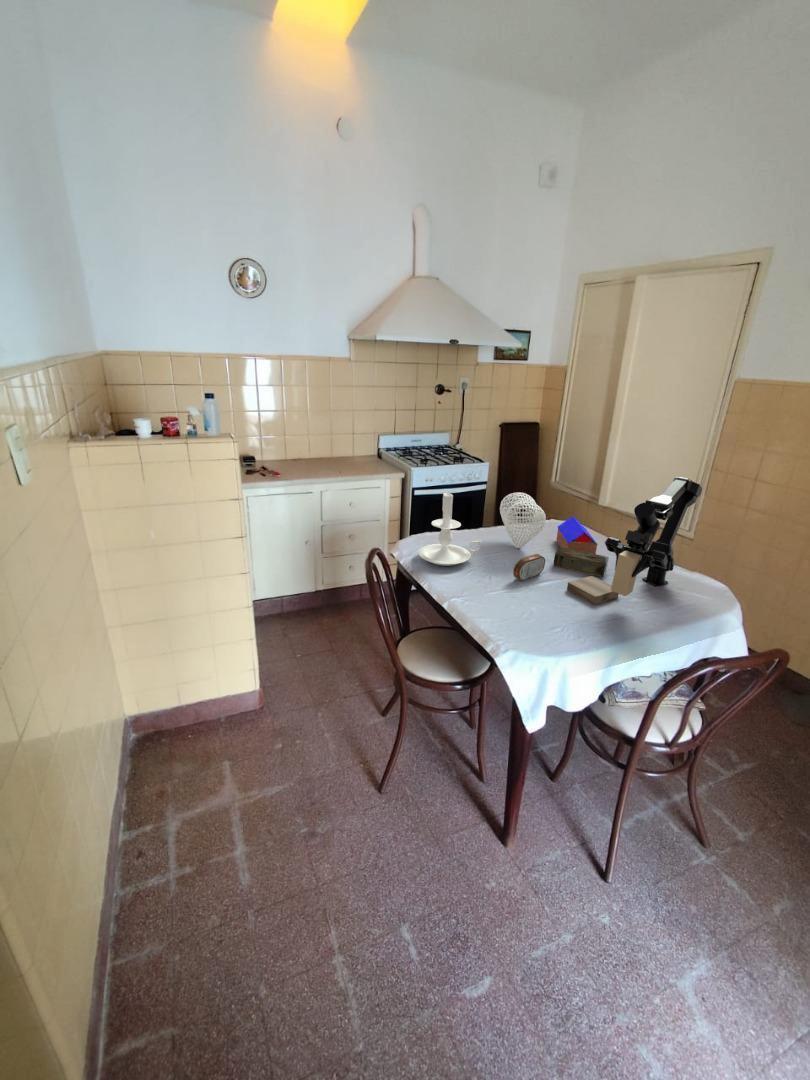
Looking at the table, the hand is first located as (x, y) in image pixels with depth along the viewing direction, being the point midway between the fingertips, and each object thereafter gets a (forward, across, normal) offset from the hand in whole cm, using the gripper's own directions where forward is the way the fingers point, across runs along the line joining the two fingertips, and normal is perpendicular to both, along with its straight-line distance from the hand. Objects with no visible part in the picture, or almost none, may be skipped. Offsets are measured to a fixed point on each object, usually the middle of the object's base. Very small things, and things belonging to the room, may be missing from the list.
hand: (623, 573), depth 157 cm
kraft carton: (+4, 0, +6) cm, 7 cm away
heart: (-5, -52, +23) cm, 57 cm away
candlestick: (+18, -62, 0) cm, 65 cm away
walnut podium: (+6, -11, +12) cm, 17 cm away
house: (-17, -35, +36) cm, 53 cm away
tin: (+10, -33, +8) cm, 35 cm away
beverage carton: (-5, -24, +24) cm, 34 cm away
